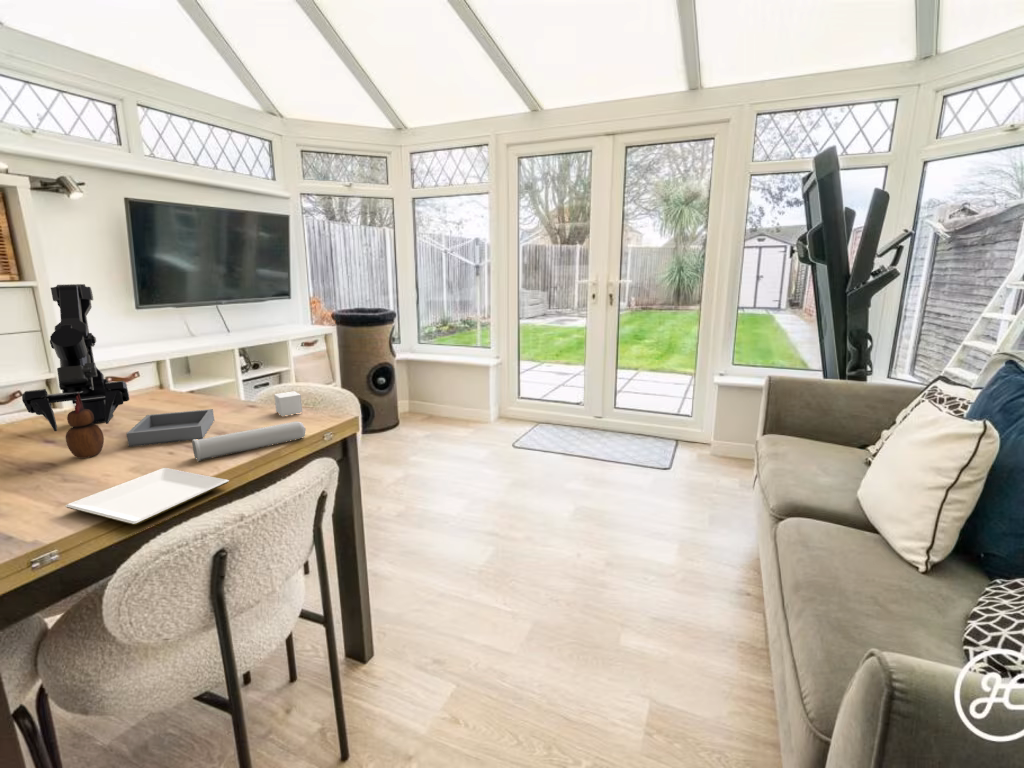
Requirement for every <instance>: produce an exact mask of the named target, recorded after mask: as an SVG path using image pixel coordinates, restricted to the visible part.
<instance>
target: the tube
mask: <svg viewBox="0 0 1024 768" xmlns="http://www.w3.org/2000/svg"><path fill="white" fill-rule="evenodd" d="M306 431H307V430H306V427H305V426H304V424H303V422H300V421H291V422H286V423H280V424H275V425H270V426H265V427H264V426H263V427H259V428H253V429H248V430H243V431H237V432H231V433H226V434H221V435H220V434H219V435H216V436H215V435H214V436H209V437H204V438H203V439H198V440H196V439H193V440H191V441H192V443H191V445H192V451H193V455H194V456H193V457H194V459H195V460H197V461H198V462H200V461H203V460H204V459H205V460H208V459H209V460H210V459H213V458H212V457H214V458H217V456H219V457H223V456H227V455H226V454H228V455H232V454H231V453H233V454H237V453H236V452H238V453H242V452H245V451H246V450H247V451H252V450H256V449H260V448H259V447H261V448H265V447H264V446H266V447H269V446H268V445H270V446H273V445H272V444H275V445H278V444H277V443H280V444H283V443H282V442H285V443H287V442H286V441H289V442H291V441H290V440H294V441H296V440H295V439H299V438H302V437H303V438H304V436H306ZM303 438H302V439H303ZM299 440H300V439H299ZM255 448H256V449H255ZM251 449H252V450H251ZM241 451H242V452H241ZM222 455H223V456H222ZM196 458H197V459H196ZM205 460H204V461H205ZM197 461H196V462H197Z"/></svg>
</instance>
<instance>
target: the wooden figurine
mask: <svg viewBox="0 0 1024 768" xmlns="http://www.w3.org/2000/svg"><path fill="white" fill-rule="evenodd" d="M66 419H67V424H68V425H69V426H70V427H71V428H69V429H68V430H67V431H66V434H65V443H66V446H67V448H68V450H69V451H70V453H71V454H72V456H74V457H76V458H77V459H87V458H92V457H95V456H96V455H99V454H100V452H101V451H102V449H103V447H104V442H105V441H104V440H105V437H104V434H103V430H102V429H101V427H100V426H99V425H97V423H92V422H93V421H94V415H93V413H92V411H90V410H89V409H84V408H83V404H82V401H81V398H80V394H79V393H78V396H76V402H75V405H74V410H72V411H70V412H68V414H67V416H66Z"/></svg>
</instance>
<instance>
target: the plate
mask: <svg viewBox="0 0 1024 768" xmlns="http://www.w3.org/2000/svg"><path fill="white" fill-rule="evenodd" d="M229 481H230V479H225V478H221V477H220V478H219V477H215V476H209V475H203V474H199V473H196V472H195V473H194V472H190V471H189V472H188V471H183V470H178V469H175V468H168V467H162V468H160V469H157V470H154V471H152V472H149V473H146V474H144V475H141V476H139V477H136V478H133V479H131V480H128V481H126V482H123V483H120V484H117V485H114V486H113V487H109V488H107V489H104V490H101V491H99V492H95V493H93V494H91V495H88V496H85V497H83V498H80V499H77V500H75V501H72V502H70V503H67V504H66V505H65V508H67V509H71V510H74V511H77V512H82V513H87V514H88V515H89V514H90V515H94V516H98V517H101V518H105V519H108V520H114V521H117V522H120V523H124V524H128V525H132V526H136V525H139V524H142V523H144V522H146V521H148V520H150V519H152V518H155V517H157V516H160V515H161V514H163V513H166V512H168V511H170V510H172V509H175V508H177V507H178V506H179V507H180V506H181V505H183V504H185V503H187V502H189V501H192V500H194V499H197V498H199V497H201V496H203V495H205V494H208V493H209V492H211V491H214V490H215V489H218V488H221V487H222V486H225V485H227V484H228V483H229Z"/></svg>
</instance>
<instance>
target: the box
mask: <svg viewBox="0 0 1024 768" xmlns="http://www.w3.org/2000/svg"><path fill="white" fill-rule="evenodd" d="M213 421H214V422H215V416H214V409H211V408H210V409H209V408H208V409H200V410H199V409H197V410H189V411H188V410H187V411H179V412H178V411H177V412H166V413H153V414H147V415H145V416H144V417H143V418H141V420H140V421H139V422H137V424H135V425H133V427H132V428H131V429H130V430H128V431H127V432H126V434H125V435H126V439H127V444H128V447H129V448H132V447H140V446H141V445H142V446H150V445H149V444H152V445H158V443H161V444H168V442H170V443H177V442H178V441H180V442H187V441H186V440H189V441H193V439H204V438H205V436H206V435H207V433H208V432H207V431H209V430H210V428H211V427H212V425H213V424H214V422H213ZM212 423H213V424H212ZM210 426H211V427H210ZM208 429H209V430H208ZM205 434H206V435H205ZM203 437H204V438H203Z"/></svg>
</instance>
